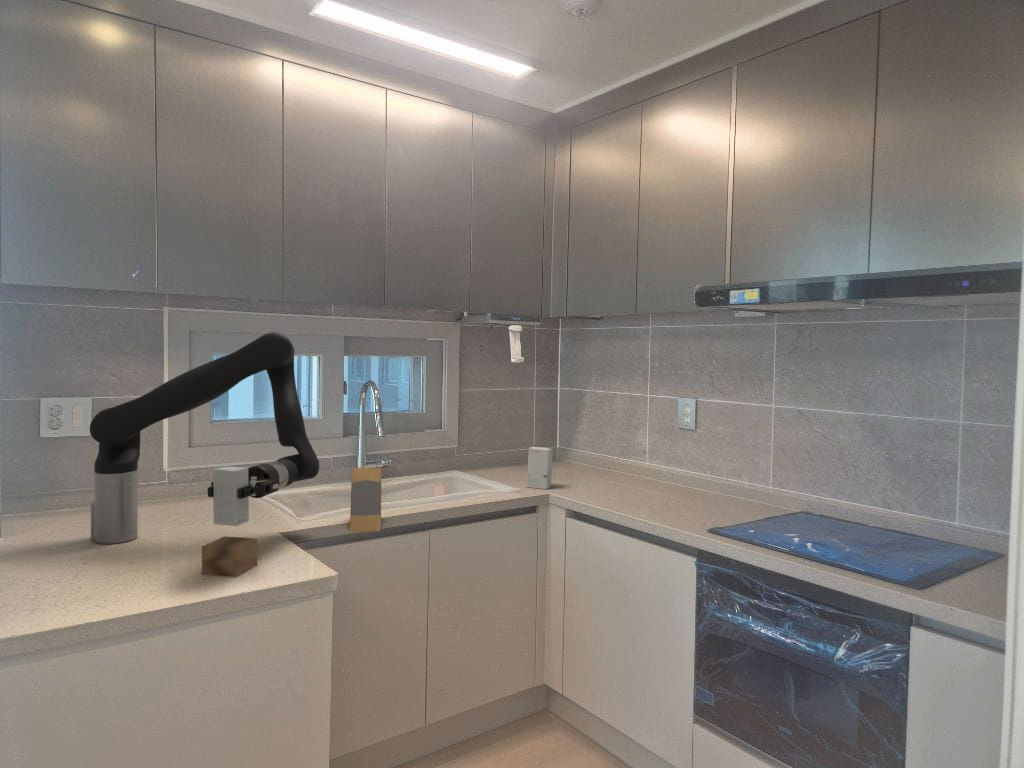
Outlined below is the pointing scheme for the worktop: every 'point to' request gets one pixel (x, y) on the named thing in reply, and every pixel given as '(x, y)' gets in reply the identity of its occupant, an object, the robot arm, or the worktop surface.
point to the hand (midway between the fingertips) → (224, 493)
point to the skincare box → (230, 496)
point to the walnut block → (229, 556)
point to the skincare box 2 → (539, 467)
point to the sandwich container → (365, 500)
